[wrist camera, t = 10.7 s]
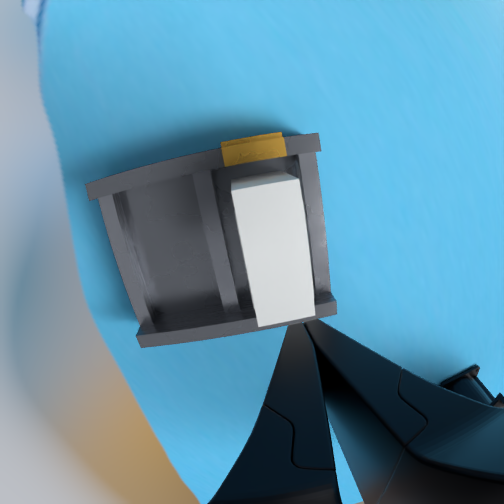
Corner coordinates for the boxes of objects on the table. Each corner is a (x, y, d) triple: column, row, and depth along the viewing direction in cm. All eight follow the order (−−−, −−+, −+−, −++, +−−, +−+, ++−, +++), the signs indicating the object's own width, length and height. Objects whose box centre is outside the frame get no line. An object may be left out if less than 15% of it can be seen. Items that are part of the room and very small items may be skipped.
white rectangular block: (281, 170, 17) (300, 178, 13) (297, 276, 20) (316, 315, 15) (230, 179, 17) (230, 191, 13) (251, 285, 20) (257, 327, 15)
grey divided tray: (304, 130, 17) (318, 127, 14) (324, 292, 21) (337, 315, 18) (104, 173, 17) (82, 179, 14) (150, 324, 21) (140, 349, 18)
